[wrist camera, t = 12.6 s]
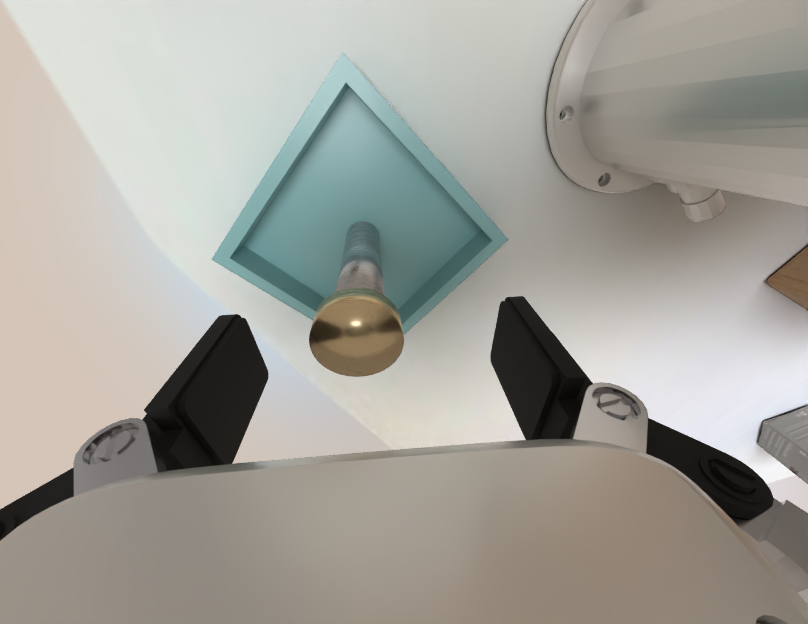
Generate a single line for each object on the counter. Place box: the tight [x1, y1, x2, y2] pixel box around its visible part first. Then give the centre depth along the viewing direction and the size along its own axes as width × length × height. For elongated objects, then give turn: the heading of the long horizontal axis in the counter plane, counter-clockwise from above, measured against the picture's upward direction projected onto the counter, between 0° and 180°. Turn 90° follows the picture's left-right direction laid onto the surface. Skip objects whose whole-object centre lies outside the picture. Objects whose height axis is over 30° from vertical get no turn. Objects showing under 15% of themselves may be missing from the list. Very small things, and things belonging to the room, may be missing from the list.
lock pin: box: [309, 221, 404, 377], centre depth 16 cm, size 4×4×12 cm
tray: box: [212, 52, 509, 335], centre depth 21 cm, size 14×14×3 cm
